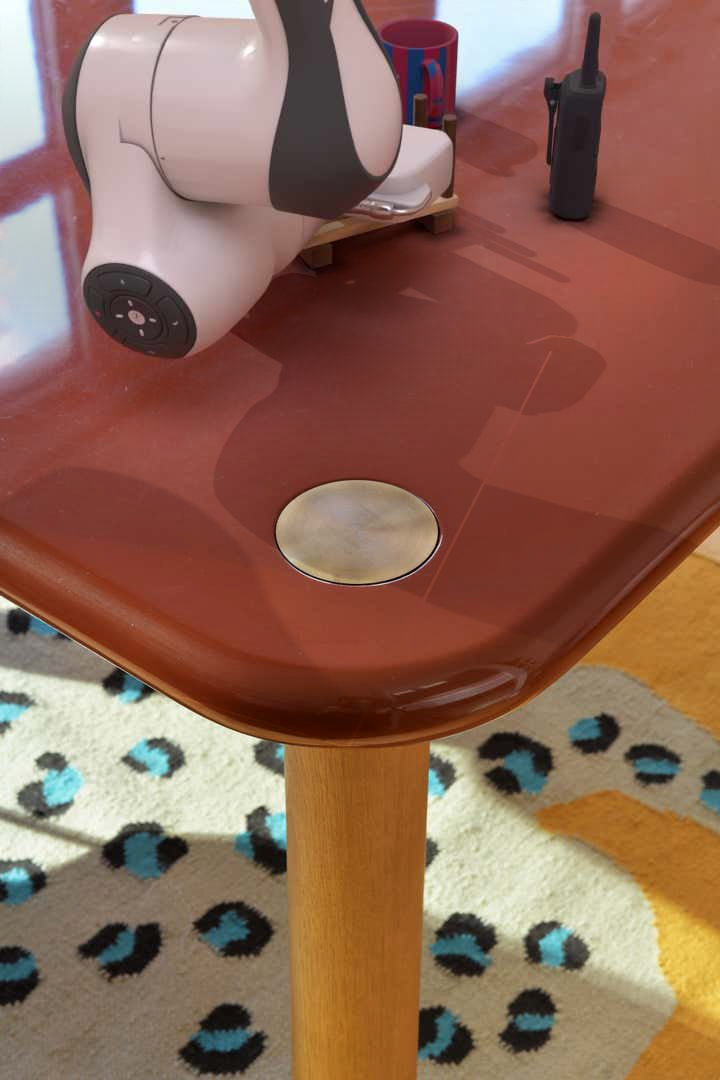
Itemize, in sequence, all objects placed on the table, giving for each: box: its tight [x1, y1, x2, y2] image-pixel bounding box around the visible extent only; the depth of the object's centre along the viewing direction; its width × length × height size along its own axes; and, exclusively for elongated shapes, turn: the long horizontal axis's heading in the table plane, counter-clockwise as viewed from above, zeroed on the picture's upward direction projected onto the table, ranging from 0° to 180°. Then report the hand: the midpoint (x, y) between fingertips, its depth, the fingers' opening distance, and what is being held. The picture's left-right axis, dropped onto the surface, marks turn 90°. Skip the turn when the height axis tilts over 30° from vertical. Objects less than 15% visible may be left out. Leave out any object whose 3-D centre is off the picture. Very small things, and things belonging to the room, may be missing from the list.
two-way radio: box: [543, 11, 607, 220], centre depth 98 cm, size 6×4×15 cm
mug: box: [376, 17, 459, 129], centre depth 111 cm, size 7×10×7 cm
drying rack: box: [297, 74, 460, 270], centre depth 98 cm, size 13×10×8 cm
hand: (343, 104), depth 96 cm, fingers open, 6 cm apart
